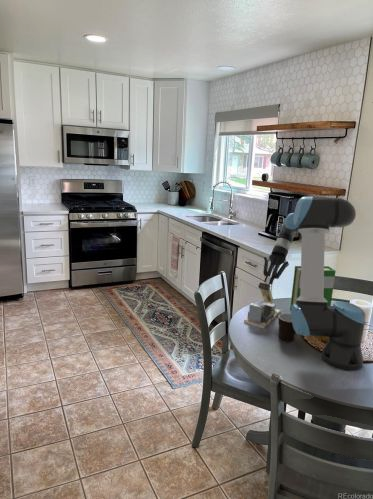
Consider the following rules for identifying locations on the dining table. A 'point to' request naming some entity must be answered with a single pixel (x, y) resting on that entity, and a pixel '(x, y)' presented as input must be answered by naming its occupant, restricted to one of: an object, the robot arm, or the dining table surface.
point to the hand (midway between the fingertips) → (265, 289)
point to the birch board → (262, 322)
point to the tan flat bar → (266, 292)
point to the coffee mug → (286, 328)
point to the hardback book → (328, 284)
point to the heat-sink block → (261, 312)
